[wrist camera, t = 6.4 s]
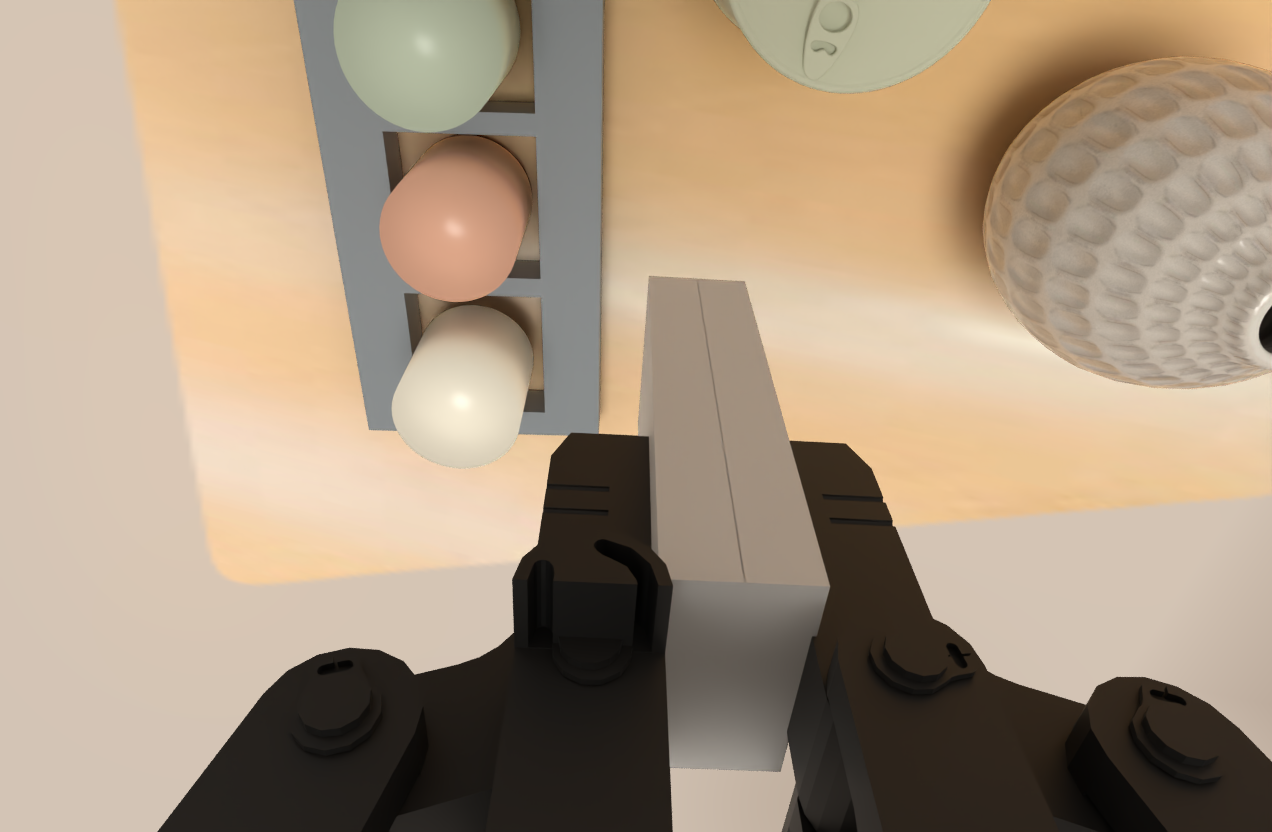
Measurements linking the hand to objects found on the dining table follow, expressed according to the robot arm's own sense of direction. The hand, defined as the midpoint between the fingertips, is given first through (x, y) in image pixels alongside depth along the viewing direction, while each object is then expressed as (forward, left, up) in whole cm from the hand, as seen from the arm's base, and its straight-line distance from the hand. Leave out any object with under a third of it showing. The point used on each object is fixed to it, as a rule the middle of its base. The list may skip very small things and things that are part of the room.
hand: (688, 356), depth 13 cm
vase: (+4, +21, -29) cm, 36 cm away
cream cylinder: (+14, -9, -26) cm, 31 cm away
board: (+6, -9, -29) cm, 31 cm away
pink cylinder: (+6, -9, -28) cm, 30 cm away
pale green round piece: (-2, -9, -26) cm, 28 cm away
